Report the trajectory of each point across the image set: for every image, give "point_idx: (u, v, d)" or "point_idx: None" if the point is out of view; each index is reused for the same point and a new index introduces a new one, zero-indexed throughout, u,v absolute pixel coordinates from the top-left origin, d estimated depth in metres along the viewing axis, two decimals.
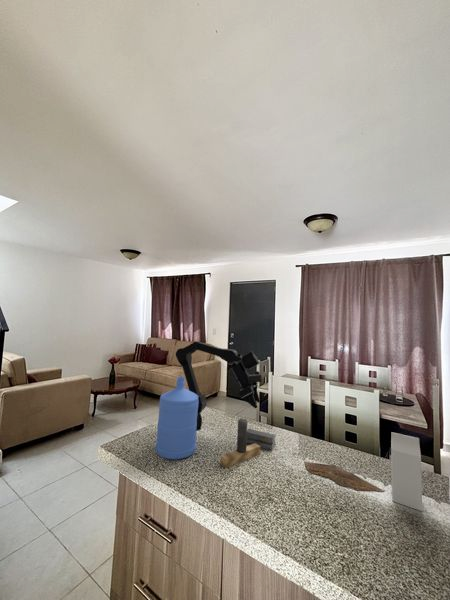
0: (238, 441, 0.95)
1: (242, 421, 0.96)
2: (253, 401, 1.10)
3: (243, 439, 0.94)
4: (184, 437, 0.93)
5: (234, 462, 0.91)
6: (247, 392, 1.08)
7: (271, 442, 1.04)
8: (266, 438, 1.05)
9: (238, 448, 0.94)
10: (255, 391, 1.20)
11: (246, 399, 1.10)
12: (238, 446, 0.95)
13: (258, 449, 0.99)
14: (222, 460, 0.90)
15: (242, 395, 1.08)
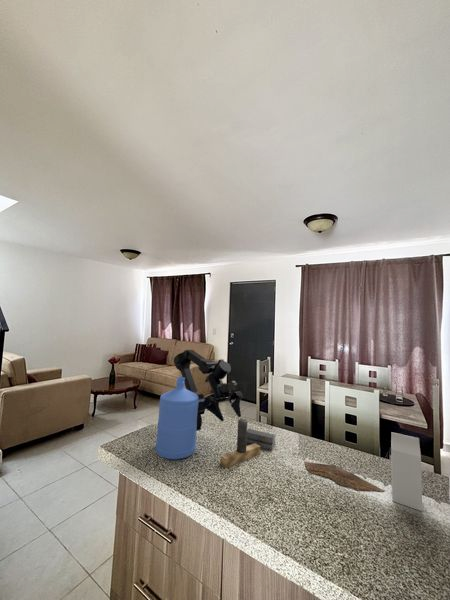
0: (238, 441, 0.95)
1: (242, 421, 0.96)
2: (218, 413, 1.00)
3: (243, 439, 0.94)
4: (184, 437, 0.93)
5: (234, 462, 0.91)
6: (207, 402, 1.00)
7: (271, 442, 1.04)
8: (266, 438, 1.05)
9: (238, 448, 0.94)
10: (236, 404, 1.07)
11: (212, 411, 1.02)
12: (238, 446, 0.95)
13: (258, 449, 0.99)
14: (222, 460, 0.90)
15: (204, 406, 1.01)
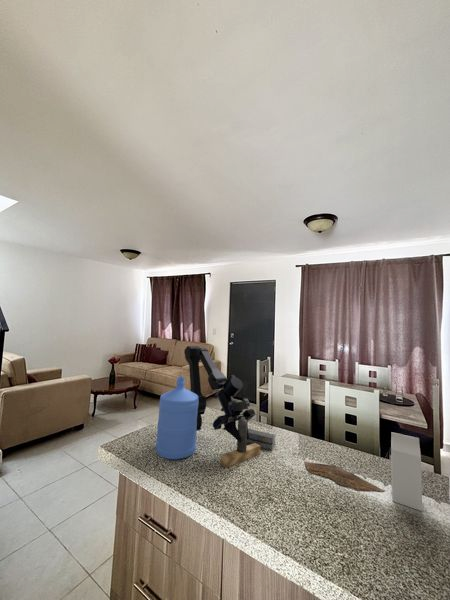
0: (238, 441, 0.95)
1: (242, 421, 0.96)
2: (235, 433, 0.95)
3: (244, 438, 0.94)
4: (184, 437, 0.93)
5: (234, 461, 0.91)
6: (218, 423, 0.94)
7: (271, 442, 1.04)
8: (266, 438, 1.05)
9: (238, 448, 0.94)
10: None
11: (229, 430, 0.97)
12: (238, 446, 0.95)
13: (258, 449, 0.99)
14: (222, 459, 0.90)
15: (215, 427, 0.95)
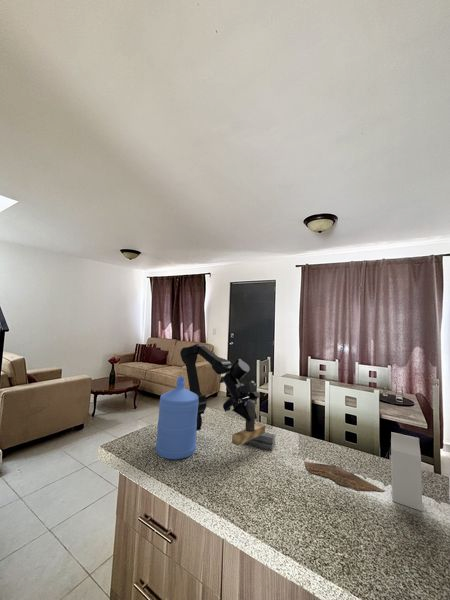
0: (247, 421, 0.99)
1: (251, 401, 1.00)
2: (245, 413, 0.98)
3: (253, 418, 0.99)
4: (184, 437, 0.93)
5: (245, 440, 0.95)
6: (229, 404, 0.96)
7: (271, 442, 1.04)
8: (266, 438, 1.05)
9: (247, 427, 0.98)
10: None
11: (238, 411, 1.00)
12: (247, 425, 0.98)
13: (264, 428, 1.04)
14: (234, 439, 0.93)
15: (225, 408, 0.97)
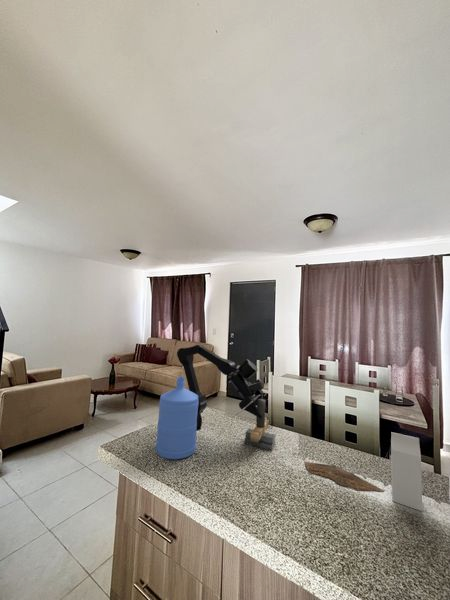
0: (259, 418, 1.08)
1: (262, 400, 1.09)
2: (256, 411, 1.05)
3: (264, 415, 1.08)
4: (184, 437, 0.93)
5: (260, 436, 1.04)
6: (247, 402, 1.03)
7: (271, 442, 1.04)
8: (266, 438, 1.05)
9: (259, 424, 1.07)
10: None
11: (249, 410, 1.05)
12: (259, 422, 1.07)
13: (268, 423, 1.15)
14: (252, 436, 1.01)
15: (242, 406, 1.03)
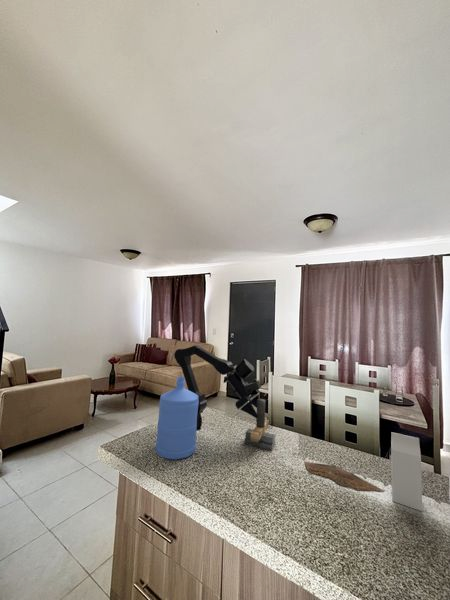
0: (259, 418, 1.08)
1: (262, 400, 1.09)
2: (252, 411, 1.05)
3: (264, 415, 1.08)
4: (184, 437, 0.93)
5: (260, 436, 1.04)
6: (243, 402, 1.03)
7: (271, 442, 1.04)
8: (266, 438, 1.05)
9: (259, 424, 1.07)
10: None
11: (245, 410, 1.06)
12: (259, 422, 1.07)
13: (268, 423, 1.15)
14: (252, 436, 1.01)
15: (239, 406, 1.04)
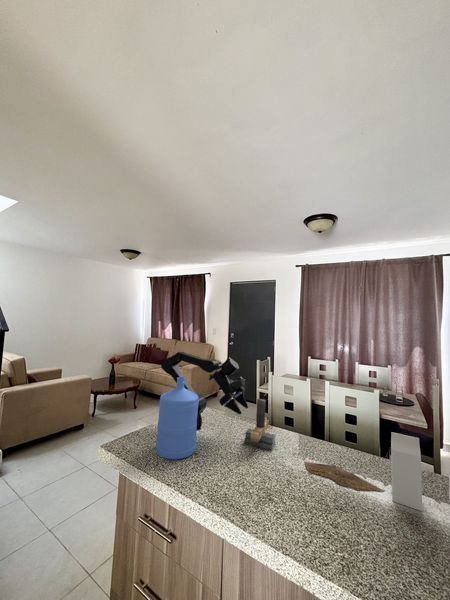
0: (259, 418, 1.08)
1: (262, 400, 1.09)
2: (236, 407, 1.08)
3: (264, 415, 1.08)
4: (184, 437, 0.93)
5: (260, 436, 1.04)
6: (226, 399, 1.07)
7: (271, 442, 1.04)
8: (266, 438, 1.05)
9: (259, 424, 1.07)
10: (242, 397, 1.18)
11: (229, 406, 1.09)
12: (259, 422, 1.07)
13: (268, 423, 1.15)
14: (252, 436, 1.01)
15: (222, 403, 1.07)
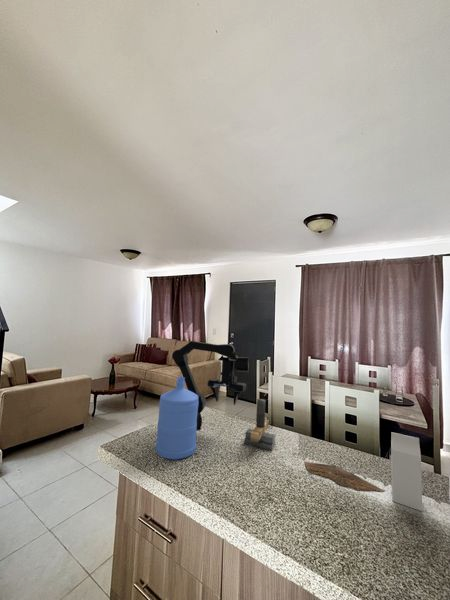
0: (259, 418, 1.08)
1: (262, 400, 1.09)
2: (237, 398, 1.19)
3: (264, 415, 1.08)
4: (184, 437, 0.93)
5: (260, 436, 1.04)
6: (245, 388, 1.19)
7: (271, 442, 1.04)
8: (266, 438, 1.05)
9: (259, 424, 1.07)
10: (218, 390, 1.24)
11: (237, 394, 1.17)
12: (259, 422, 1.07)
13: (268, 423, 1.15)
14: (252, 436, 1.01)
15: (243, 389, 1.16)
